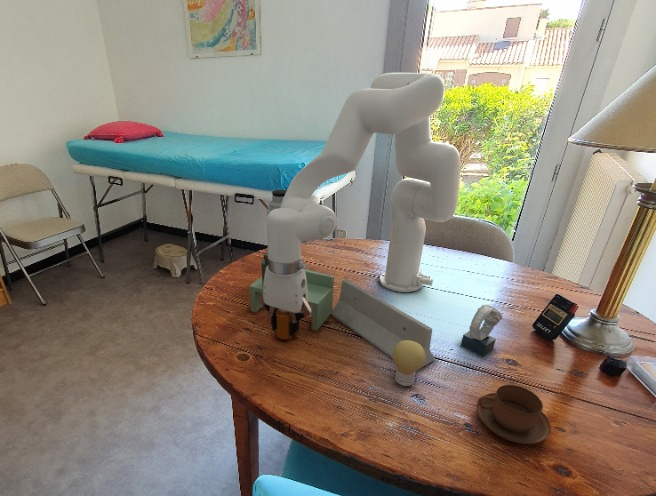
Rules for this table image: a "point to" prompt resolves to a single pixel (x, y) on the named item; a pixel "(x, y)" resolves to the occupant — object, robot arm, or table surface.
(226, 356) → the table surface
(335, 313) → the barrier
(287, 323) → the amber bottle
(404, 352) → the light bulb
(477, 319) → the watch
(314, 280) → the spice rack
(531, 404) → the cup and saucer
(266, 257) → the green bottle
